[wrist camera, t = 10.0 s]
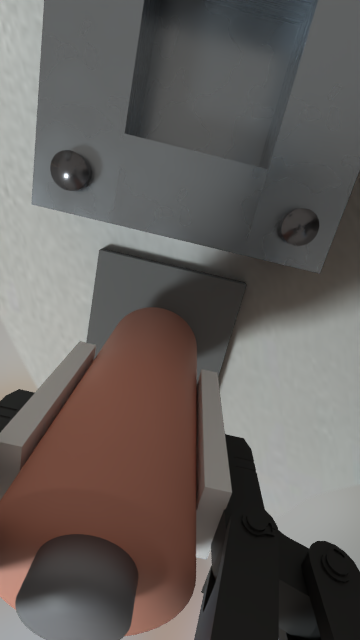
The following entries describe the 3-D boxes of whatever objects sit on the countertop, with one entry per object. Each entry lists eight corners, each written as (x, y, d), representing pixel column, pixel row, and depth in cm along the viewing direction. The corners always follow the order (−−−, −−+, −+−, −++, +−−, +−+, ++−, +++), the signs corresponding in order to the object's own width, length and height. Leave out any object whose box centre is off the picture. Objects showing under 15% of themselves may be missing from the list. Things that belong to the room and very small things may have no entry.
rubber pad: (245, 282, 20) (246, 284, 19) (208, 403, 23) (208, 408, 22) (102, 248, 19) (99, 249, 19) (84, 375, 22) (81, 379, 22)
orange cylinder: (206, 318, 18) (225, 559, 6) (185, 393, 19) (166, 698, 7) (119, 297, 18) (-52, 500, 6) (105, 375, 19) (-46, 656, 7)
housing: (403, -45, 14) (493, -155, 10) (295, 260, 19) (324, 275, 15) (97, -128, 14) (52, -280, 10) (65, 204, 19) (24, 204, 14)
